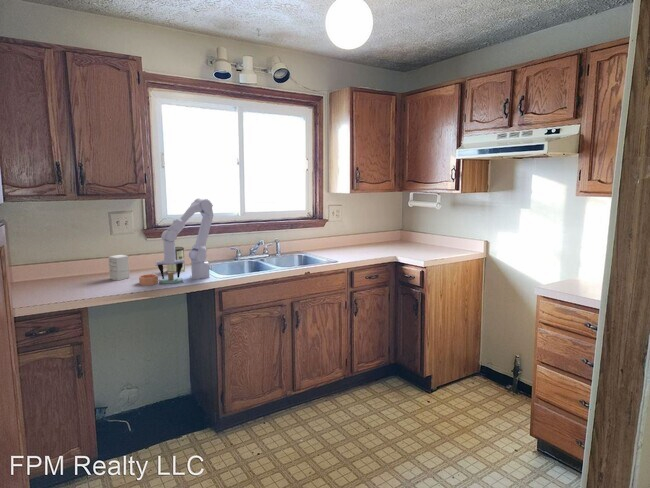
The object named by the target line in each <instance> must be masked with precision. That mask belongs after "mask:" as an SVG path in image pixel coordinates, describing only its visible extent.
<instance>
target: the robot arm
mask: <svg viewBox="0 0 650 488" xmlns="http://www.w3.org/2000/svg"><path fill="white" fill-rule="evenodd" d="M213 205H214V204H213V203H212V202H211V201H210V200H209V199H208V198H207V199H206V198H205V199H204V198H196V199H195V200H194V201H192V202H191V204H190V206H189V207H188V208H187V209H186V210H185V212H184V213H183V214H182V216H181V217H179V218H176V219H174V220H173V221H172V223H171V225H170V226H168V227H166V230H164V231H162V233H161V235H160V237H161V240H162V241H163V242H162V243H163V259H164V260H160V261H159V260H158V261H155V262H154V263H155V266H156V267H157V268H158V270H159V271H160V273H161V279H165V276H164V266H167V265H171V264H177V273H176V274H177V277H176V278H180V274H181V272H180V271H181V268H182V266H183V264H184V265H185V263H186V262H185V259H184V260H176V256H175V247H176V242H175V241H176V240H177V237H178V234H179V233H180V232H182V231H183V229H184V228H185V227H186V223H187V221H188V220H190V218H192V217H193V216H194V215H195V213H200V215H201V216H202V219H201V222H200V226H199V229H198V233H197V237H196V240H195V244H194V245H192V248H191V249H190V251H189V253H188V257H189V259H190V264H191V265H190V267H191V268H190V269H191V270H190V271H191V275H189V276H190V278H191V280H198V279H200V280H201V279H209V278H210V264H209V261H208V260H207V257H208V256H207V251H208V250H207V247H206V245H207V244H206V243H207V241H208V237H209V233H210V230H211V226H212V224H213V223H212V222H213V219H214V212H213ZM206 260H207V261H206Z"/></svg>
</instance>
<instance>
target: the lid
mask: <svg viewBox="0 0 650 488" xmlns="http://www.w3.org/2000/svg"><path fill="white" fill-rule="evenodd" d="M181 278H182V277H179V278H178V277H174V273H173V272H167V277H166V278H165V277H164V279H162V278H161V279H159V280H160V283H163V284H168V285H175V284H174V283H179V282H181V281H182V280H183V278H182V279H181ZM179 284H180V283H179Z"/></svg>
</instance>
